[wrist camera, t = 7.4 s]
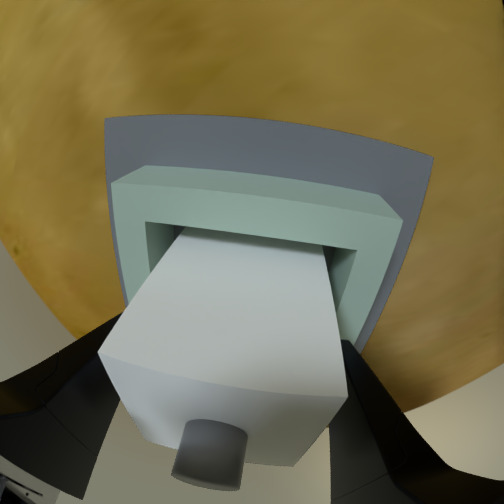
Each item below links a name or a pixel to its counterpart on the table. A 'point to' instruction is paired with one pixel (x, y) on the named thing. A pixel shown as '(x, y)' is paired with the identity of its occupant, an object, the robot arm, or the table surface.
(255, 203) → the charging dock
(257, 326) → the plug
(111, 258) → the table surface
